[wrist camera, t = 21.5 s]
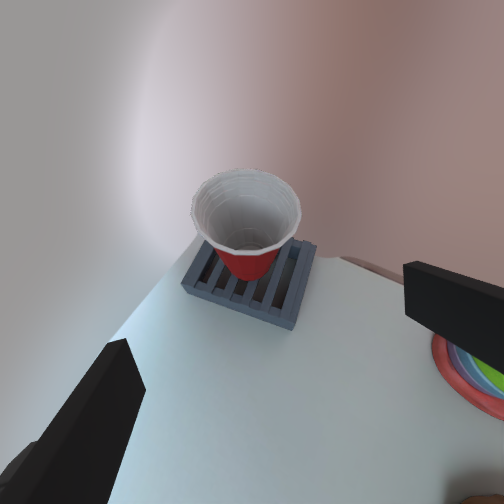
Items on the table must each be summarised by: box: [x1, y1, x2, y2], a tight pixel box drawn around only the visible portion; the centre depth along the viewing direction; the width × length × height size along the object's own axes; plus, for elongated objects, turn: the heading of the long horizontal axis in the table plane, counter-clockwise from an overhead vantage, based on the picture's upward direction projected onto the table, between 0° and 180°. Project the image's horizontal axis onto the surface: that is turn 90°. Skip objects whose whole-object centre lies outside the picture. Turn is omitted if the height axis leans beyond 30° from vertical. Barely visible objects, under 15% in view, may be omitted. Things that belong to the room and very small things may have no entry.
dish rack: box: [181, 237, 317, 331], centre depth 35 cm, size 16×12×4 cm
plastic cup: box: [191, 169, 302, 281], centre depth 28 cm, size 11×11×12 cm
